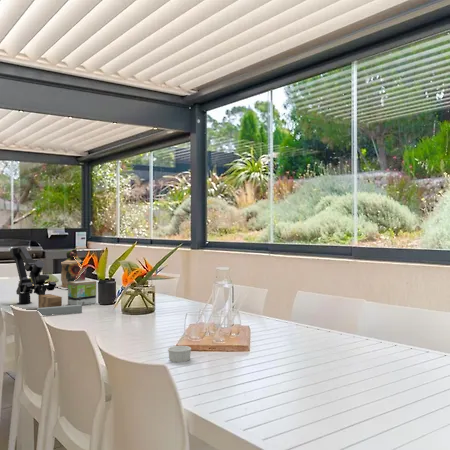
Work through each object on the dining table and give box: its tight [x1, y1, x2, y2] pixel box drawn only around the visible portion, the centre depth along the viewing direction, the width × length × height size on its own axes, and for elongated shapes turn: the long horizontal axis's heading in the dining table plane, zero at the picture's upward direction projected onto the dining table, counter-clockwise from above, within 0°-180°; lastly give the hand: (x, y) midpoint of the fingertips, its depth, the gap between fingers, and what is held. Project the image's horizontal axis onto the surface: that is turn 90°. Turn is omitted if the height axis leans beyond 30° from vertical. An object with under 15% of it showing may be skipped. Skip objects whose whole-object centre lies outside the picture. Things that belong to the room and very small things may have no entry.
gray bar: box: [36, 304, 83, 316], centre depth 275 cm, size 24×4×4 cm, turn 119°
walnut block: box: [37, 293, 63, 308], centre depth 284 cm, size 16×7×9 cm, turn 44°
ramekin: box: [167, 345, 192, 363], centre depth 184 cm, size 9×9×4 cm
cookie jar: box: [55, 247, 87, 291], centre depth 391 cm, size 25×25×32 cm
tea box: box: [67, 279, 97, 306], centre depth 310 cm, size 15×10×15 cm, turn 143°
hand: (44, 297), depth 290 cm, fingers closed, pressing on walnut block
